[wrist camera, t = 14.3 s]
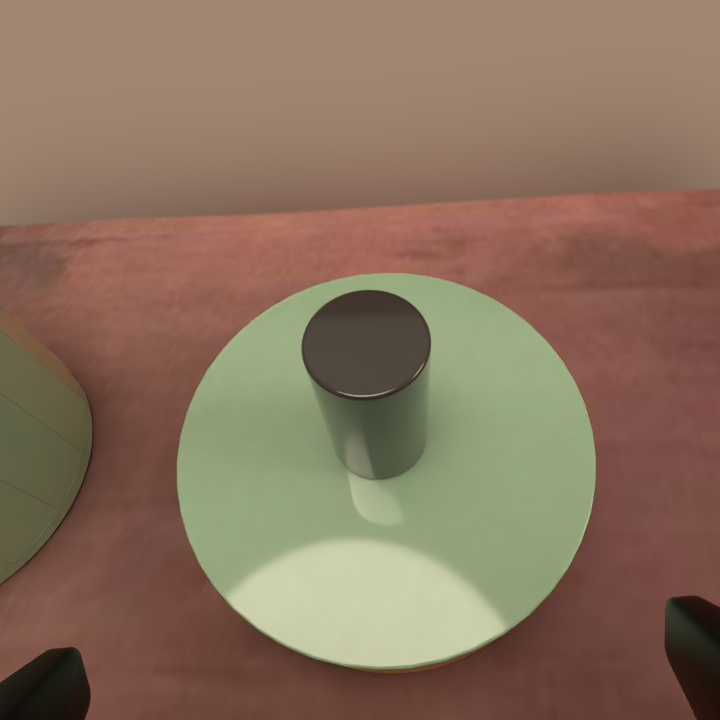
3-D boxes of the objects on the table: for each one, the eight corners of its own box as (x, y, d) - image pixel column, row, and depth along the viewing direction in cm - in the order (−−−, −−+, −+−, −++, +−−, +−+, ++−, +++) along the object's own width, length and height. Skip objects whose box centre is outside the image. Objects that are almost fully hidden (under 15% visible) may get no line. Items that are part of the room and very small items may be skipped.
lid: (642, 380, 18) (738, 245, 12) (475, 783, 13) (516, 848, 8) (326, 249, 22) (295, 105, 16) (109, 519, 17) (-34, 441, 11)
